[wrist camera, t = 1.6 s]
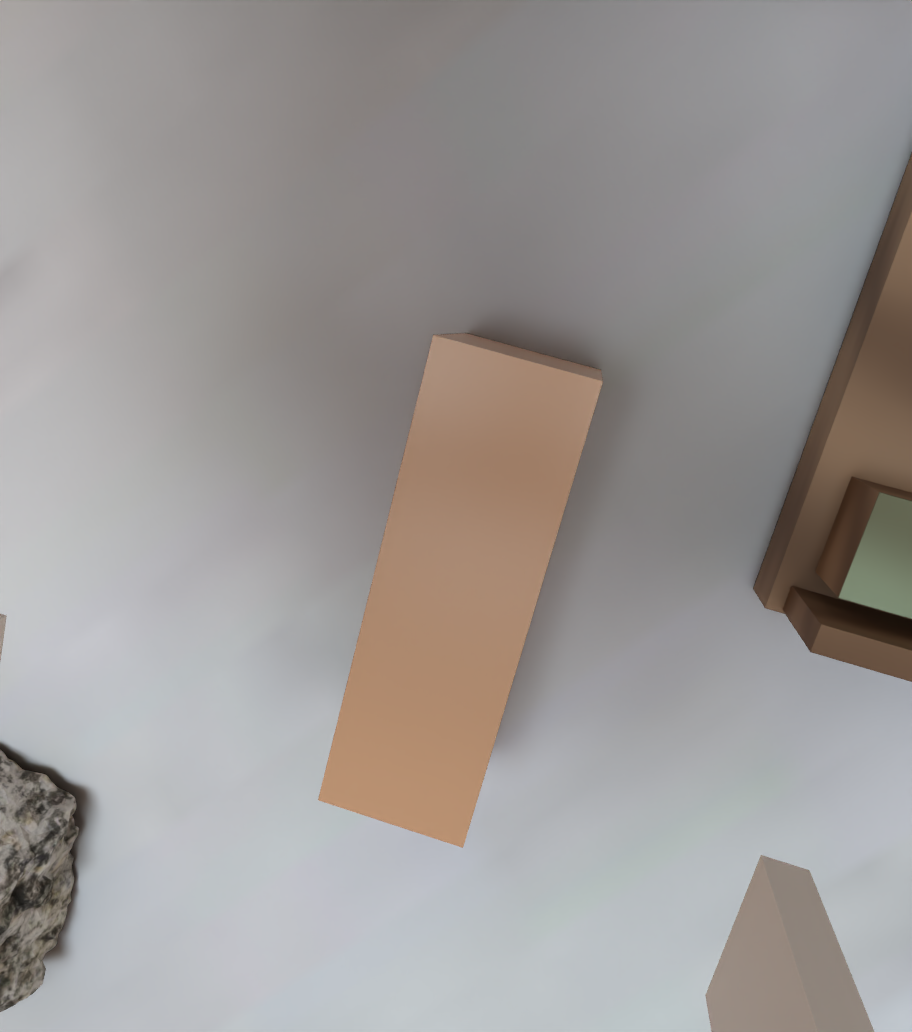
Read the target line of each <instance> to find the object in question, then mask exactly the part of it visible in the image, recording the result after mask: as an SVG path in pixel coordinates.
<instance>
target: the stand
mask: <svg viewBox="0 0 912 1032" xmlns="http://www.w3.org/2000/svg"><path fill="white" fill-rule="evenodd" d="M753 589H754V591H755V592H756V594H757V596H758V597H759V599H760V601H761V602H762V604H763V606H764V607H765V608H767V609H770V610H774V611H777V612H780V613H784V614H786V616H787V617H788V619H789V620H790V622H791V623H792V625H793V626H794V628H795V629H796V631H797V632H798V634H799V635H800V637H801V638H802V640H803V641H804V643H805V644H806V646H807V647H808V649H809V650H810V652H812V653H816V654H819V655H823V656H826V657H829V658H833V659H836V660H840V661H843V662H846V663H850V664H853V665H857V666H860V667H863V668H867V669H870V670H874V671H877V672H880V673H884V674H887V675H891V676H894V677H897V678H901V679H904V680H908V681H911V682H912V154H911V157H910V159H909V162H908V165H907V168H906V170H905V173H904V176H903V178H902V181H901V184H900V187H899V189H898V192H897V195H896V198H895V200H894V203H893V206H892V209H891V211H890V214H889V217H888V220H887V222H886V225H885V228H884V231H883V233H882V236H881V239H880V242H879V244H878V247H877V250H876V253H875V255H874V258H873V261H872V264H871V266H870V269H869V272H868V275H867V277H866V280H865V283H864V286H863V288H862V291H861V294H860V297H859V299H858V302H857V305H856V308H855V310H854V313H853V316H852V319H851V321H850V324H849V327H848V330H847V332H846V335H845V338H844V341H843V343H842V346H841V349H840V352H839V354H838V357H837V360H836V363H835V365H834V368H833V371H832V374H831V376H830V379H829V382H828V385H827V387H826V390H825V393H824V396H823V398H822V401H821V404H820V407H819V409H818V412H817V415H816V418H815V420H814V423H813V426H812V429H811V431H810V434H809V437H808V440H807V442H806V445H805V448H804V451H803V453H802V456H801V459H800V461H799V464H798V467H797V470H796V472H795V475H794V478H793V481H792V483H791V486H790V489H789V492H788V494H787V497H786V500H785V503H784V505H783V508H782V511H781V514H780V516H779V519H778V522H777V525H776V527H775V530H774V533H773V536H772V538H771V541H770V544H769V547H768V549H767V552H766V555H765V558H764V560H763V563H762V566H761V569H760V571H759V574H758V577H757V580H756V582H755V585H754V588H753Z"/></svg>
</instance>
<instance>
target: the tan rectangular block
mask: <svg viewBox="0 0 912 1032" xmlns="http://www.w3.org/2000/svg"><path fill="white" fill-rule="evenodd" d="M602 384H603V378H602V373H601V370H599V369H596V368H592V367H588V366H585V365H581V364H577V363H574V362H570V361H566V360H563V359H559V358H555V357H552V356H548V355H544V354H541V353H537V352H533V351H530V350H526V349H522V348H519V347H515V346H511V345H508V344H504V343H500V342H497V341H493V340H489V339H486V338H482V337H478V336H475V335H471V334H467V333H457V334H440V335H433V338H432V342H431V346H430V350H429V354H428V358H427V362H426V366H425V370H424V374H423V378H422V382H421V386H420V390H419V394H418V398H417V402H416V406H415V411H414V415H413V419H412V423H411V427H410V431H409V435H408V439H407V443H406V447H405V451H404V455H403V459H402V463H401V467H400V471H399V475H398V479H397V483H396V487H395V491H394V495H393V499H392V503H391V508H390V512H389V516H388V520H387V524H386V528H385V532H384V536H383V540H382V544H381V548H380V552H379V556H378V560H377V564H376V568H375V572H374V576H373V580H372V584H371V588H370V592H369V596H368V600H367V605H366V609H365V613H364V617H363V621H362V625H361V629H360V633H359V637H358V641H357V645H356V649H355V653H354V657H353V661H352V665H351V669H350V673H349V677H348V681H347V685H346V689H345V693H344V697H343V702H342V706H341V710H340V714H339V718H338V722H337V726H336V730H335V734H334V738H333V742H332V746H331V750H330V754H329V758H328V762H327V766H326V770H325V774H324V778H323V782H322V786H321V790H320V794H319V799H318V800H319V801H323V802H326V803H329V804H332V805H335V806H338V807H341V808H344V809H347V810H350V811H353V812H356V813H359V814H362V815H365V816H368V817H371V818H374V819H377V820H380V821H383V822H386V823H389V824H392V825H395V826H399V827H402V828H405V829H408V830H411V831H414V832H417V833H420V834H423V835H426V836H429V837H432V838H435V839H438V840H441V841H444V842H447V843H450V844H453V845H456V846H459V847H462V848H463V846H464V842H465V839H466V836H467V832H468V829H469V826H470V822H471V819H472V816H473V812H474V809H475V806H476V802H477V799H478V796H479V792H480V789H481V786H482V782H483V779H484V776H485V772H486V769H487V766H488V763H489V759H490V756H491V753H492V749H493V746H494V743H495V739H496V736H497V733H498V729H499V726H500V723H501V719H502V716H503V713H504V709H505V706H506V703H507V699H508V696H509V693H510V689H511V686H512V683H513V679H514V676H515V673H516V669H517V666H518V663H519V659H520V656H521V653H522V649H523V646H524V643H525V640H526V636H527V633H528V630H529V626H530V623H531V620H532V616H533V613H534V610H535V606H536V603H537V600H538V596H539V593H540V590H541V586H542V583H543V580H544V576H545V573H546V570H547V566H548V563H549V560H550V556H551V553H552V550H553V546H554V543H555V540H556V536H557V533H558V530H559V526H560V523H561V520H562V517H563V513H564V510H565V507H566V503H567V500H568V497H569V493H570V490H571V487H572V483H573V480H574V477H575V473H576V470H577V467H578V463H579V460H580V457H581V453H582V450H583V447H584V443H585V440H586V437H587V433H588V430H589V427H590V423H591V420H592V417H593V413H594V410H595V407H596V403H597V400H598V397H599V394H600V390H601V387H602Z"/></svg>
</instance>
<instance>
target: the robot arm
mask: <svg viewBox="0 0 912 1032" xmlns="http://www.w3.org/2000/svg"><path fill="white" fill-rule="evenodd" d="M5 623H6V615H3V614H0V660H1V653H2V645H3V638H4V631H5ZM706 1001H707V1007H708V1013H709V1019H710V1025H711V1031H712V1032H874V1030H873V1027H872V1025H871V1022H870V1020H869V1017H868V1015H867V1012H866V1010H865V1007H864V1005H863V1002H862V1000H861V997H860V995H859V993H858V990H857V988H856V985H855V983H854V980H853V978H852V975H851V973H850V970H849V968H848V965H847V963H846V960H845V958H844V955H843V953H842V950H841V948H840V945H839V943H838V940H837V938H836V935H835V933H834V930H833V928H832V925H831V923H830V921H829V918H828V916H827V913H826V911H825V908H824V906H823V903H822V901H821V898H820V896H819V893H818V891H817V888H816V886H815V883H814V881H813V878H812V876H811V873H810V871H809V870H807V869H803V868H800V867H797V866H794V865H791V864H788V863H785V862H781V861H778V860H775V859H772V858H769V857H766V856H762V855H761V857H760V859H759V862H758V864H757V867H756V869H755V872H754V874H753V877H752V879H751V882H750V884H749V887H748V889H747V892H746V894H745V897H744V899H743V902H742V905H741V907H740V910H739V912H738V915H737V917H736V920H735V922H734V925H733V927H732V930H731V932H730V935H729V937H728V940H727V942H726V945H725V947H724V950H723V952H722V955H721V958H720V960H719V963H718V965H717V968H716V970H715V973H714V975H713V978H712V980H711V983H710V985H709V988H708V990H707V993H706Z"/></svg>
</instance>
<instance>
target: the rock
mask: <svg viewBox="0 0 912 1032" xmlns="http://www.w3.org/2000/svg"><path fill="white" fill-rule="evenodd" d="M75 810H76V801H75V797H74V796H73V795H71V794H70V793H68V792H67V791H64V790H62V789H60V788H58V787H57V786H56V785H55V784H54V783H53V782H52V781H51V780H50V778H49V777H48V776H47V775H45V774H42V773H37V772H33V771H26V770H23V769H22V768H20V767H19V766H18V764H17V763H16V762H15V761H13V760H10V759H8V758H7V757H6V755H5V754H4V752H3V751H1V750H0V1012H1V1011H4V1010H6V1009H8V1008H10V1007H11V1006H13V1005H15V1004H16V1003H17V1002H19V1001H21V1000H23V999H25V998H27V997H28V996H29V995H31V994H33V993H34V992H35V991H36V990H37V989H38V988H39V987H40V986H41V985H42V984H43V979H44V975H45V970H46V968H45V966H44V964H43V961H42V960H43V958H44V955H45V953H46V952H48V951H50V950H51V949H53V948H54V947H55V946H56V945H57V939H58V933H59V932H60V931H61V930H62V927H63V925H64V922H65V918H66V915H67V905H68V904H69V903H70V902H71V896H70V893H71V890H72V887H73V883H74V875H73V871H72V863H73V860H74V857H73V856H72V855H71V853H70V852H69V851H70V850H71V848H72V846H73V843H74V841H75V839H76V838H77V836H78V834H79V828H78V827H77V826H75V824H74V818H73V817H72V815H73V814H74V812H75Z"/></svg>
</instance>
